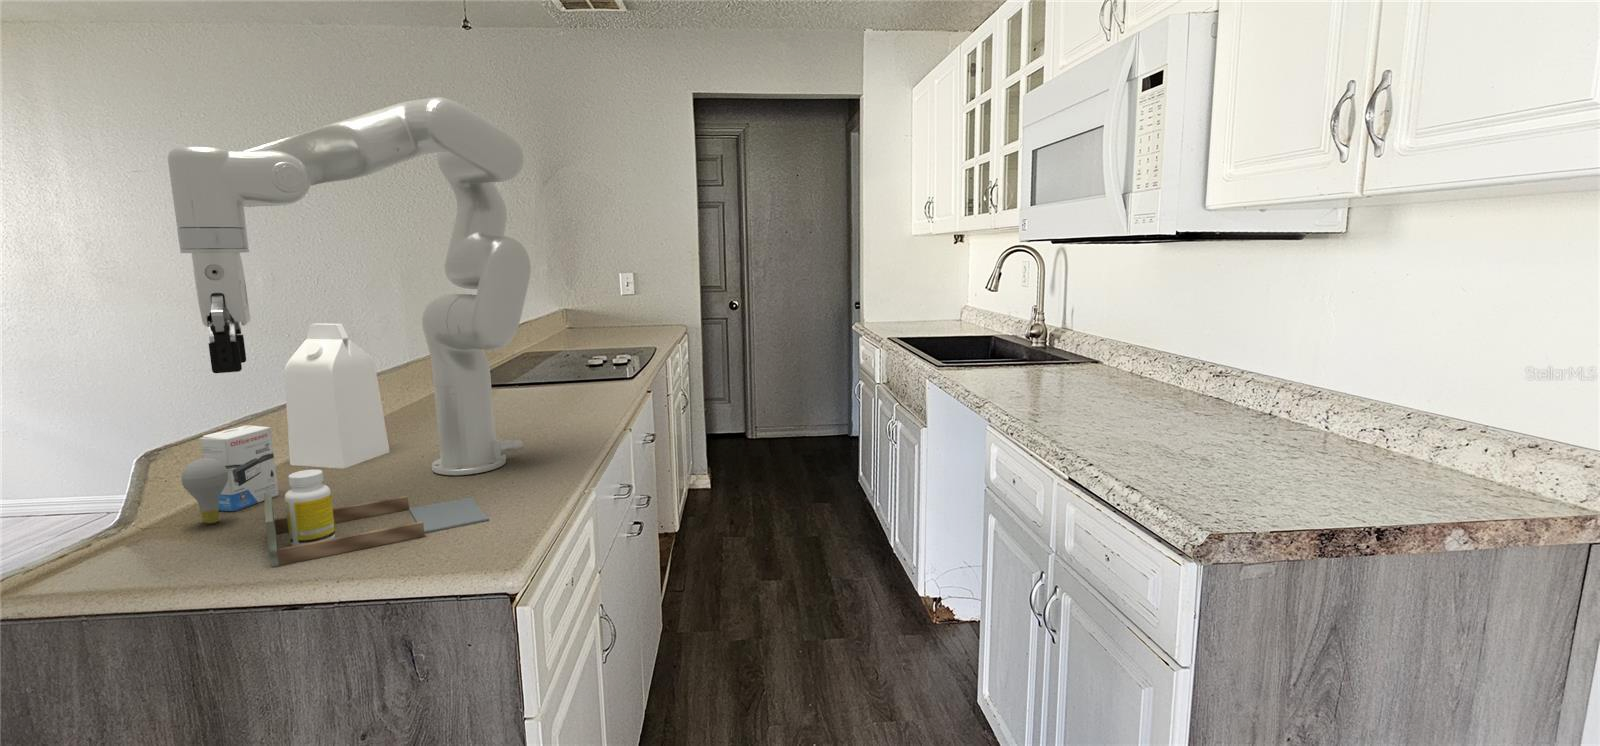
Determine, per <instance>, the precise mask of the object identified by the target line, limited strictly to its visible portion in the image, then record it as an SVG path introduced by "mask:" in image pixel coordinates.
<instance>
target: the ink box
mask: <svg viewBox="0 0 1600 746" xmlns="http://www.w3.org/2000/svg"><path fill="white" fill-rule="evenodd" d="M271 430H272V429H271V427H270V426H261V425H241V426H238V427H234V428H231V429H230V428H229V429H225V430H221V431H217V432H213V433H209V434H204V435H203V436H202V437H200V438H199V439H200V448H201V455H202V458H212V459H216V460H218V461H220V462H221V463H223V464H224V466H225V467H226V469H227V471H228V481H227V483H226V485H225V487H224V489H223V491H222V493H221V495H220V497H219V502H218V503H219V511H223V512H236V511H237V512H238V511H240V510H241V509H244V508H247V507H250V506H253V505H256V504H258V503H261V502H265V498H264V493H267V492H271V495H272V498H274V497H277V496H279V486H278V478H277V469H276V464H275V463H276V462H275V455H274V447H273V446H274V445H273V438H272V431H271Z"/></svg>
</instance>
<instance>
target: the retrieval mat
mask: <svg viewBox="0 0 1600 746" xmlns="http://www.w3.org/2000/svg"><path fill="white" fill-rule="evenodd" d="M408 511H409V512H410V514H411V515H412V517H413V519H414V521H415V522H420V521H423V524H424V534H427V533H432V532H438V531H442V530H443V531H444V530H447V529H453V528H458V527H463V526H469V525H472V524H473V525H474V524H478V523H483V522H488V521H490V518H489V516H488V515H487V514H486V513H485V512H484V511H483V509H482V508H481V507H480V506H479V505H478V504H477V503H476V502H475V500H474V499H473V498H472V497H464V498H459V499H455V500H454V499H452V500H449V501H443V502H438V503H432V504H427V505H421V506H414V507H411V508H409V510H408ZM487 520H488V521H487ZM482 521H483V522H482Z"/></svg>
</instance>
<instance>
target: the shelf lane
mask: <svg viewBox="0 0 1600 746" xmlns="http://www.w3.org/2000/svg"><path fill="white" fill-rule="evenodd" d="M264 498H265V500H264V517H265V521H264V523H265V529H266V538H267V545H268V552H269V560H270V567H271V568H274V567H279V566H285V565H289V564H295V563H298V562H303V561H304V562H305V561H310V560H313V559H319V558H323V557H329V556H333V555H339V554H343V553H348V552H352V551H358V550H363V549H368V548H373V547H379V546H383V545H387V544H388V545H389V544H394V543H398V542H403V541H407V540H414V539H417V538H423V537H425V535H426V534H425V533H424V524H423V521H420V522H416V521H415V522H410V523H405V524H399V525H395V526H394V525H393V526H390V527H384V528H380V529H374V530H370V531H364V532H360V533H353V534H347V535H343V536H338V537H337V536H336V537H334V538H331V539H326V540H321V541H316V542H310V543H305V544H300V545H295V546H292V545H289V546H286V547H285V546H283V547H279V548H278V539H277V535H278V534H281V533H287V532H288V533H289V529H288V521H287V516H283V517H282V516H281V517H276V518H275V513H274V512H275V511H274V506H273V497H272V495H271V492H267V493H264ZM332 508H333V517H334V524H335V523H336V524H337V523H342V522H349V521H353V520H358V519H364V518H369V517H375V516H381V515H387V514H391V513H398V512H402V511H410V510H409V497H408V495H402V496H398V497H392V498H385V499H381V500H374V501H369V502H362V503H357V504H356V503H355V504H352V505H346V506H340V507H332Z"/></svg>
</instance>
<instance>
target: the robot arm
mask: <svg viewBox="0 0 1600 746" xmlns="http://www.w3.org/2000/svg"><path fill="white" fill-rule="evenodd" d="M433 153H435V154H437V155H436V160H437V163H438V166H439V169H440V172H441V173H442V174H443V176H444V178H445V179H446V180H447V182H448V184H449V185H450V187H451V189H452V191H453V193H454V196H455V200H456V207H457V208H456V215H455V220H454V224H453V228H452V233H451V235H450V236H451V237H450V241H449V243H448V249H447V252H446V257H445V262H444V272H445V275H446V278H447V279H448V280H449V282H450V283H451V284H453V285H455V286H456V287H459V288H462V289H468V290H477V291H476V294H467V293H466V294H465V293H464V294H463V293H448V294H444V295H443V294H442V295H440V296H437V297H436V298H433V299H432V300H431V301H429V302H428V304H427V305H426V307H425V308H424V311H423V313H422V318H421V320H422V325H421V326H422V331H423V335H424V339H425V342H426V344H427V345H426V346H427V348H428V352H429V356H430V362H431V363H430V364H431V367H432V368H431V369H432V376H433V377H432V379H433V390H434V400H435V412H436V422H437V432H438V433H437V434H438V444H439V454H440V458H438V459H436V460H434V461H433V462H432V463H431V470H432V472H434V473H435V474H438V475H444V476H466V475H468V476H469V475H473V474H474V475H475V474H479V473H481V474H482V473H485V472H489V471H493V470H497V469H498V468H500V467H502V466H504V465H505V464H506V462H507V458H506V454H507V452H511V451H512V452H517V451H523V449H524V443H523V441H522V439H517V440H516V439H515V440H512V439H506V440H499V439H498V438H497V437H496V429H495V417H494V415H495V414H494V404H493V392H492V380H491V368H490V365H489V361H488V359H487V356H486V353H485V351H496V350H500V349H503V348H505V347H507V346H508V345H509V344H510V343H511V342H512V341H513V340H514V338H515V336H516V334H517V332H518V330H519V327H520V326H519V325H520V322H521V318H522V314H523V311H524V305H525V300H526V297H527V292H528V287H529V284H530V278H531V272H532V271H531V267H532V266H531V262H530V261H531V260H530V256H529V253H528V252H527V249H526V248H525V247H524V245H523V244H522V243H521V242H520V241H519V240H517V239H515V238H513V237H511V236H506V235H505V232H506V225H507V219H508V216H507V215H508V212H507V211H508V210H507V206H506V204H505V200H504V198H503V196H502V194H501V193H500V190H499V189H498V187H497V184H495V183H501V182H507V181H510V180H513V179H514V178H515V179H516V178H517V176H519V174H520V173H521V171H522V169H523V167H524V163H525V162H524V160H525V159H524V158H525V157H524V153H523V150H522V148H521V145H520V144H519V142H518V141H517V139H516V138H515V137H514V136H513V135H512V134H511V133H510V132H508V131H507V130H505V129H503V128H502V127H500V126H498V125H496V124H495V123H494V122H492V121H491V120H488V119H486V118H485V117H483V116H481V115H479V114H478V113H477V112H475V111H474V110H471V109H470V108H468V107H466V106H464V105H463V104H460V103H458V102H456V101H454V100H451V99H449V98H445V97H440V96H437V97H429V98H422V99H414V100H408V101H403V102H399V103H395V104H392V105H389V106H386V107H383V108H379V109H376V110H372V111H369V112H366V113H363V114H360V115H356V116H353V117H350V118H346V119H344V120H343V119H342V120H339V121H336V122H333V123H329V124H326V125H324V126H323V125H322V126H319V127H317V128H314V129H311V130H308V131H305V132H302V133H299V134H295V135H292V136H288V137H285V138H281V139H278V140H274V141H271V142H268V143H264V144H260V145H257V146H254V147H251V148H247V149H244V150H241V151H239V150H227V149H224V148H221V147H220V148H219V147H213V146H212V147H211V146H200V145H199V146H196V145H195V146H191V145H189V146H188V145H186V146H177V147H174V148H172V149H170V151H169V153H168V155H167V164H168V171H169V180H170V187H171V192H172V193H171V194H172V199H173V201H172V202H173V207H174V215H175V222H176V228H177V229H176V231H177V237H178V245H179V252H180V254H191V260H192V267H193V275H194V276H193V277H194V282H195V290H196V297H197V301H198V307H199V312H200V317H201V322H202V325H203V326H205V327H207V328H208V339H209V342H208V350H209V351H208V352H209V359H210V364H211V366H210V367H211V372H212V373H214V374H224V373H225V374H226V373H237V372H241V371H242V370H243V365H242V363H246V362H247V355H246V347H245V346H246V345H245V338H244V334H242V327H244V326H246V325H248V324H249V323H250V321H251V314H250V308H249V301H248V293H247V292H248V291H247V285H246V277H245V271H244V266H243V265H244V264H243V260H242V255H241V253H242V254H243V253H250V249H249V239H248V232H247V224H246V223H247V222H246V216H245V215H246V214H245V209H244V208H254V207H276V206H277V207H279V206H288V205H292V204H294V203H296V202H299V201H301V200H302V199H304V197H305V196H306V195H307V194H308V192H309V190H310V189H311V188H310V187H311V186H315V185H319V184H325V183H334V182H340V181H341V182H342V181H347V180H348V181H349V180H354V179H358V178H362V177H366V176H369V175H372V174H374V173H377V172H381V171H383V170H385V169H387V168H390V167H393V166H395V165H399V164H401V163H403V162H407V161H409V160H412V159H415V158H417V157H420V156H424V155H427V154H433Z"/></svg>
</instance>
